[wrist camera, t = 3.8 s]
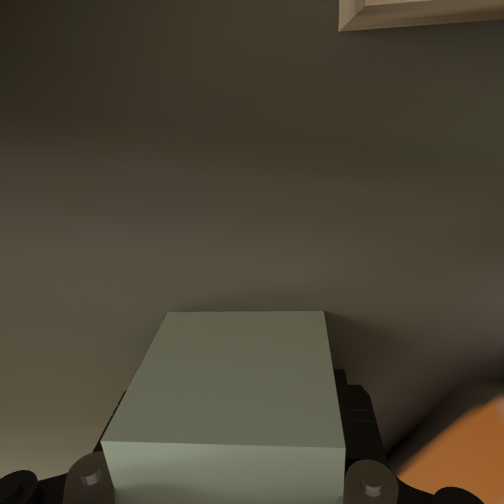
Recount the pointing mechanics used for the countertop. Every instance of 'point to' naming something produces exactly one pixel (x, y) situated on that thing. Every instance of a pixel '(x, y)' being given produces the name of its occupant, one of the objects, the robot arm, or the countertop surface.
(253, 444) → the sage cube
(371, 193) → the countertop surface
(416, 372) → the countertop surface
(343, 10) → the tower base
